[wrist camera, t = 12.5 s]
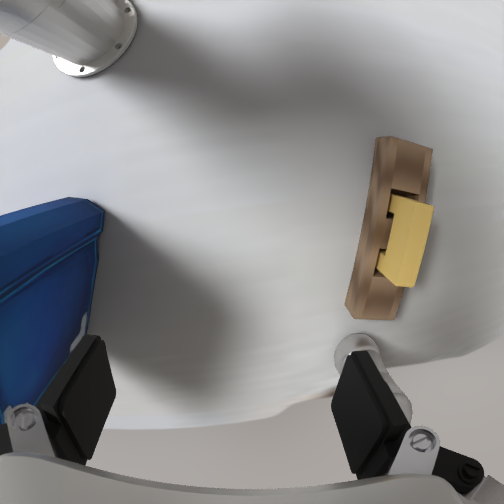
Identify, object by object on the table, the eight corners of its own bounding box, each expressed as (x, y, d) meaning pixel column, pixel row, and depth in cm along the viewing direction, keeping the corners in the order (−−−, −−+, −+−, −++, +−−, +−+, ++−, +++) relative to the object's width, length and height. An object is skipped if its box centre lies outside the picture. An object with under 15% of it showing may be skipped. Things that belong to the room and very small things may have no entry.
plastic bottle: (379, 336, 41) (441, 432, 22) (354, 369, 43) (399, 470, 24) (347, 321, 40) (405, 427, 21) (321, 357, 42) (359, 468, 23)
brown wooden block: (376, 137, 33) (390, 136, 29) (415, 148, 33) (432, 149, 29) (344, 304, 39) (353, 318, 36) (382, 306, 40) (394, 320, 36)
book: (70, 185, 33) (-87, 235, 10) (114, 201, 34) (-40, 276, 11) (52, 319, 39) (-39, 422, 16) (88, 337, 40) (8, 458, 16)
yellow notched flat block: (382, 191, 34) (415, 202, 27) (399, 195, 35) (434, 206, 27) (368, 261, 37) (395, 285, 29) (384, 263, 37) (413, 287, 30)
